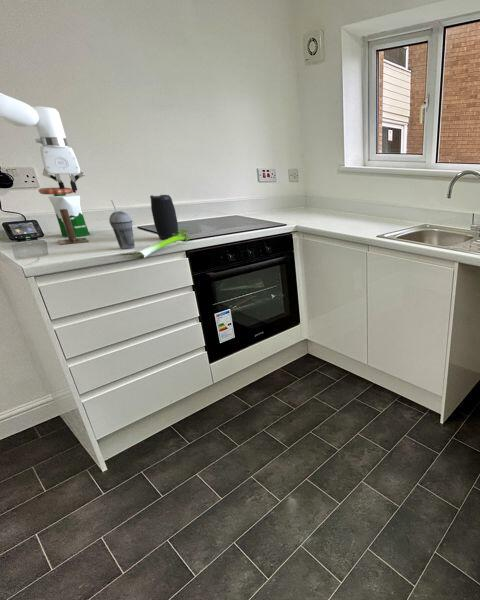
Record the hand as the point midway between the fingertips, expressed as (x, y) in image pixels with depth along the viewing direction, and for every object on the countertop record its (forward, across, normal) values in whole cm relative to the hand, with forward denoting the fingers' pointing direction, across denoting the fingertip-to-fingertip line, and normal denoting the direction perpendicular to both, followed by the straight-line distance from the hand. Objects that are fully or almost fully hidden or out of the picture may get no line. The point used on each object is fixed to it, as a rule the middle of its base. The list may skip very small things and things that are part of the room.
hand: (69, 192), depth 141 cm
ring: (-1, -4, 0) cm, 4 cm away
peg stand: (+21, -3, +3) cm, 22 cm away
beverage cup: (+22, +11, -23) cm, 33 cm away
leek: (+22, +23, -29) cm, 43 cm away
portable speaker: (+22, +30, -7) cm, 37 cm away
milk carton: (+22, -1, +24) cm, 32 cm away
